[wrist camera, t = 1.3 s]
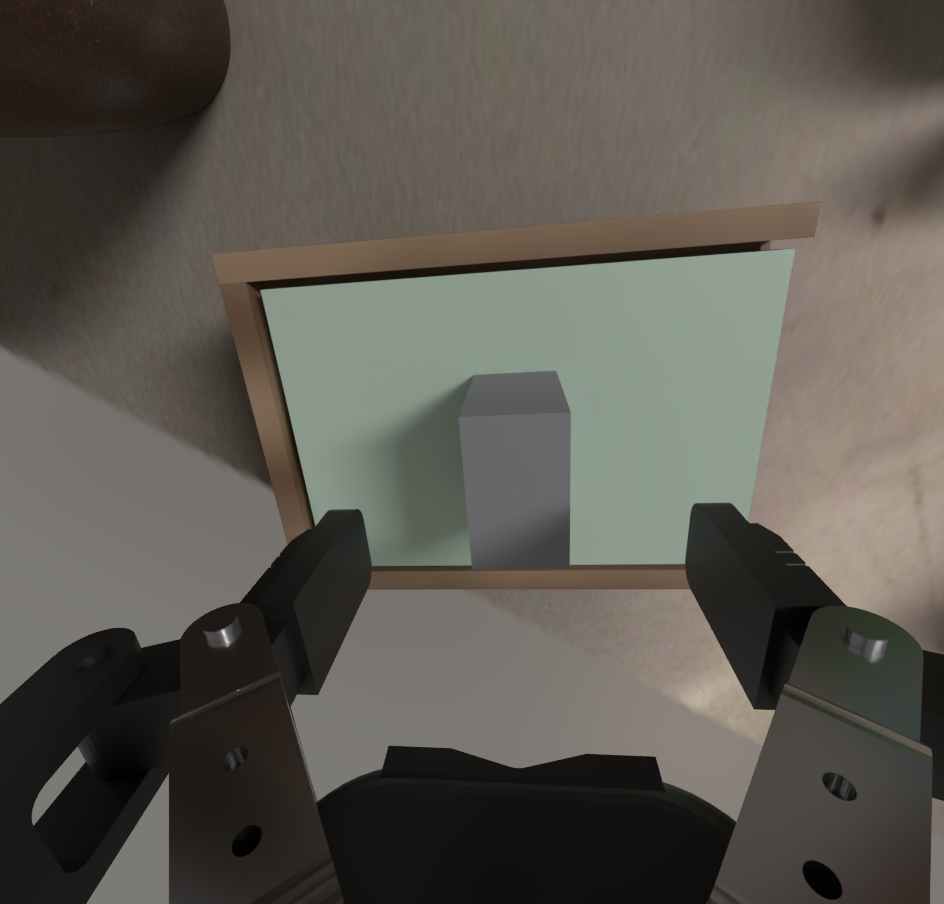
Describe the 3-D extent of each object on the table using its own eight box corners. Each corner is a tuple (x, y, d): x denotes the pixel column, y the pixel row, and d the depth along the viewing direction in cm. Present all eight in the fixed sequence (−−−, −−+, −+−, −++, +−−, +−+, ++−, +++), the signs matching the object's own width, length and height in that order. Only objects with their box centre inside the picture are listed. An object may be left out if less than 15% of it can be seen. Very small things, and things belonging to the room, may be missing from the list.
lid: (276, 288, 18) (162, 301, 12) (775, 249, 16) (922, 243, 10) (334, 551, 22) (271, 651, 17) (728, 547, 20) (810, 659, 15)
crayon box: (323, 256, 26) (211, 254, 16) (699, 224, 23) (820, 200, 14) (365, 490, 31) (299, 589, 22) (673, 482, 29) (748, 589, 20)
